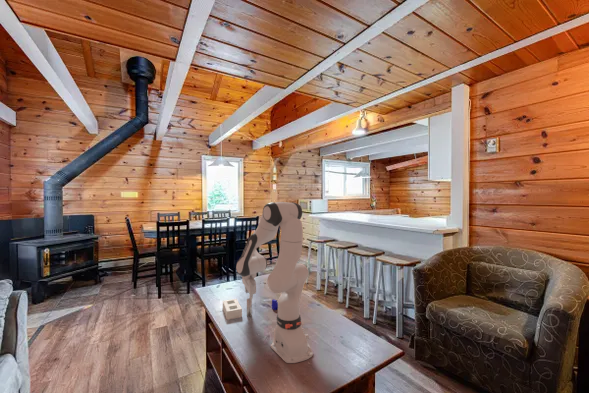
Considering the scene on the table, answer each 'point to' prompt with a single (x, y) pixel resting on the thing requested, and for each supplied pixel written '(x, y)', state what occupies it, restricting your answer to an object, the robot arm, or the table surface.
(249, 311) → the peg
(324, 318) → the table surface
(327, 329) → the table surface
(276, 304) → the cable clip
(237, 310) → the hole block
